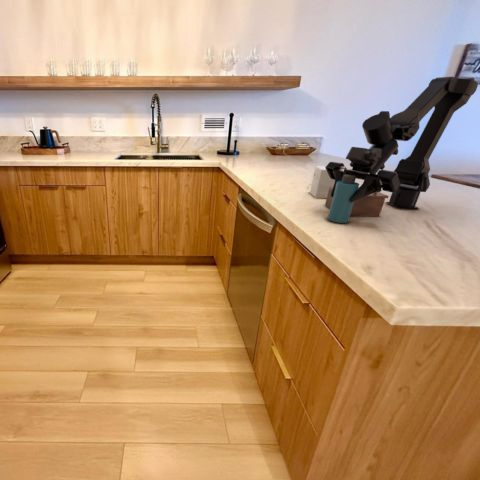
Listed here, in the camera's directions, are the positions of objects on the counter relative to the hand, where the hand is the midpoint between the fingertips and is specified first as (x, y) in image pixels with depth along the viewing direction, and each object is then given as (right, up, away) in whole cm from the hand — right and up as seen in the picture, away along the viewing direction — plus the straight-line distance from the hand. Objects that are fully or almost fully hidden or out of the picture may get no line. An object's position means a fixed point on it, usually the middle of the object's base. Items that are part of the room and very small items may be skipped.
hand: (340, 198), depth 82 cm
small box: (+10, +5, +28) cm, 31 cm away
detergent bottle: (+1, -6, +3) cm, 7 cm away
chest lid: (+11, +3, +9) cm, 15 cm away
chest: (+11, -2, +12) cm, 16 cm away
